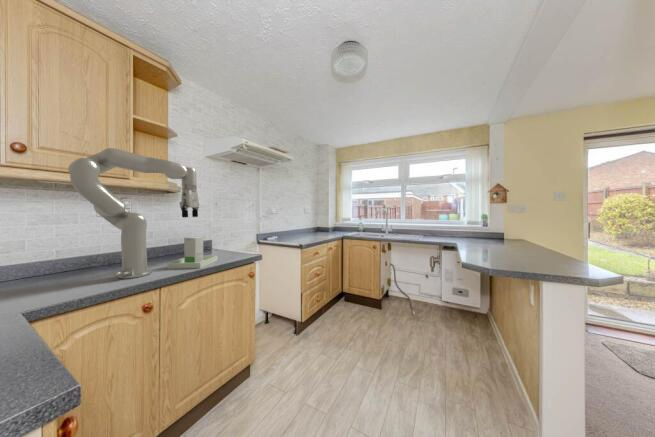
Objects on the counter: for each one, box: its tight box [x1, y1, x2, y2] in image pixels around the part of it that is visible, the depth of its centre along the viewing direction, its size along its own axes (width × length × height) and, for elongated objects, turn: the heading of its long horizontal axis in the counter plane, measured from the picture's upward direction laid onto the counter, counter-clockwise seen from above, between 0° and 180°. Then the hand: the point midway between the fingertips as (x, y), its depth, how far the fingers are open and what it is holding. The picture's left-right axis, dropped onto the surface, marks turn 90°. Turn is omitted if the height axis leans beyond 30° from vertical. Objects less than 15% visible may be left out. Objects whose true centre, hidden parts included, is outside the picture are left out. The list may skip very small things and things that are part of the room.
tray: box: [166, 255, 219, 270], centre depth 136 cm, size 20×18×3 cm
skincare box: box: [183, 236, 204, 263], centre depth 136 cm, size 8×7×16 cm
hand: (190, 217), depth 135 cm, fingers open, 9 cm apart
